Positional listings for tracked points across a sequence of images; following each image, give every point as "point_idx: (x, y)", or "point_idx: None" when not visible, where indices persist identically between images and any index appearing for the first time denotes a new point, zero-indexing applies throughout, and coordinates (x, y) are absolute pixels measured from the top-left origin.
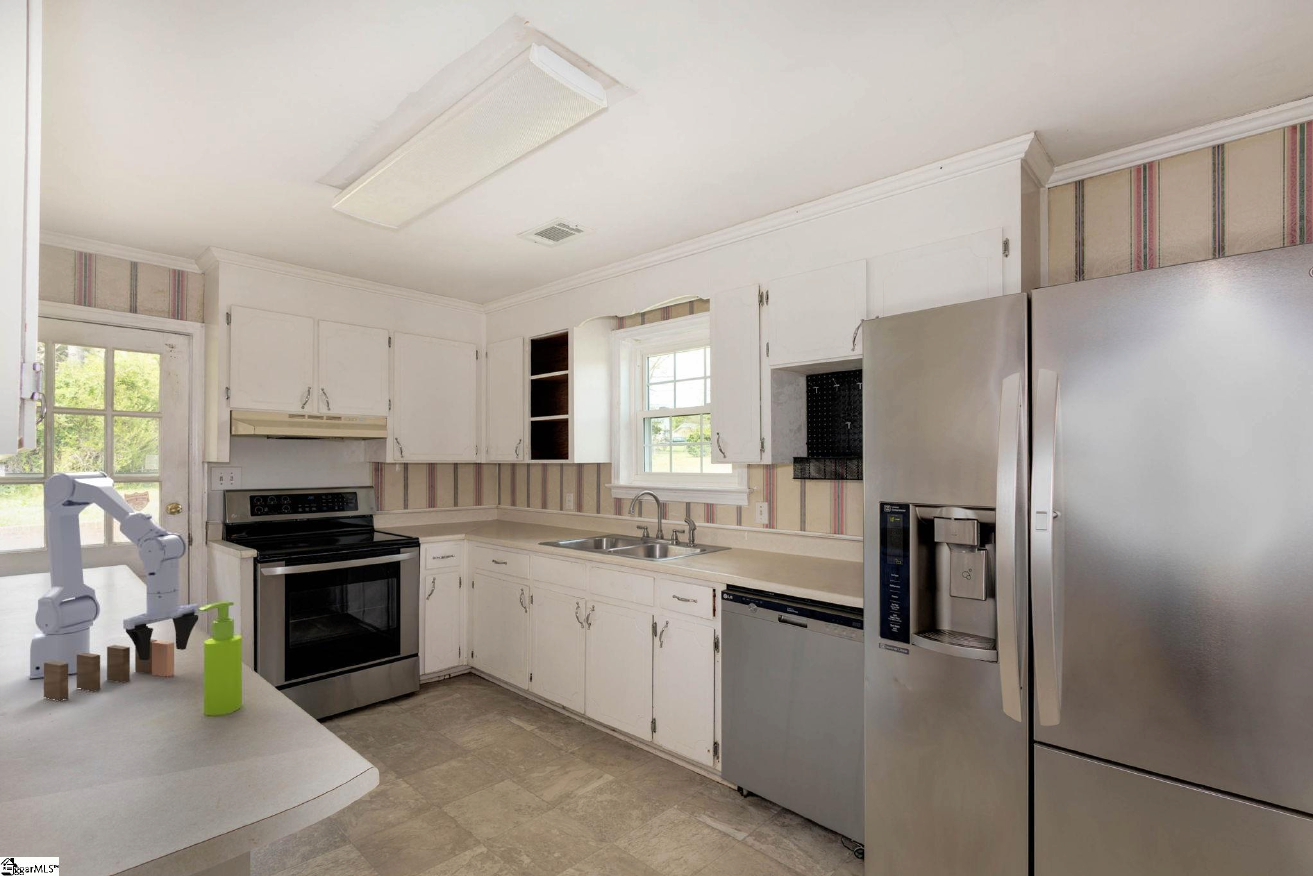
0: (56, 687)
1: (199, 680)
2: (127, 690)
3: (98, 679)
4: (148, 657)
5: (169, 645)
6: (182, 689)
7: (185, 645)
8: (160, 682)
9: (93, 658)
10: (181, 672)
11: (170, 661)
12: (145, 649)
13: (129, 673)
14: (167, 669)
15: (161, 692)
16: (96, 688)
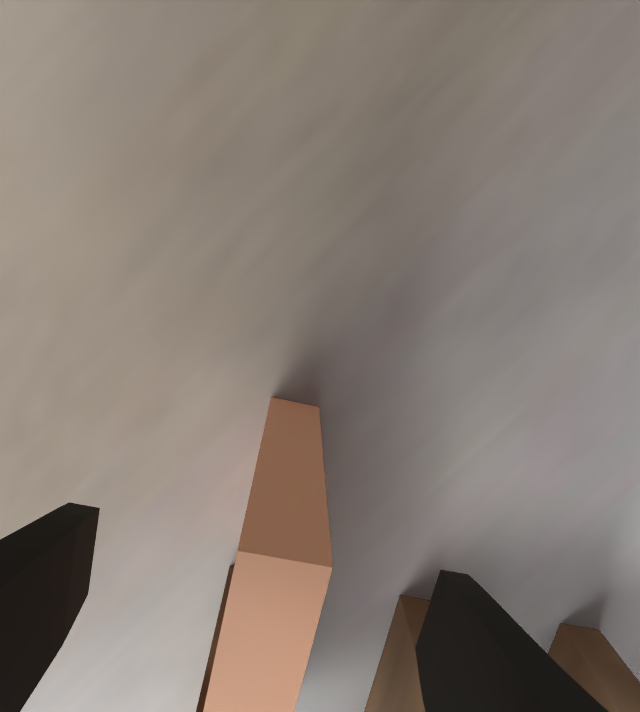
0: None
1: (359, 78)
2: (580, 449)
3: (609, 682)
4: (458, 582)
5: (301, 550)
6: (567, 43)
7: (56, 519)
8: (423, 363)
9: None
10: (209, 393)
11: (295, 449)
12: (548, 659)
13: (411, 632)
14: (320, 428)
15: (628, 166)
16: (584, 637)
